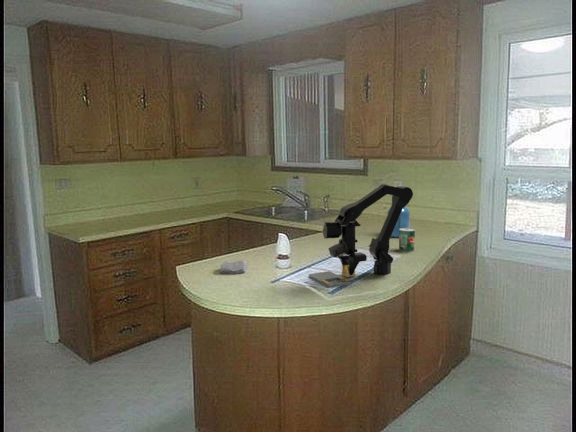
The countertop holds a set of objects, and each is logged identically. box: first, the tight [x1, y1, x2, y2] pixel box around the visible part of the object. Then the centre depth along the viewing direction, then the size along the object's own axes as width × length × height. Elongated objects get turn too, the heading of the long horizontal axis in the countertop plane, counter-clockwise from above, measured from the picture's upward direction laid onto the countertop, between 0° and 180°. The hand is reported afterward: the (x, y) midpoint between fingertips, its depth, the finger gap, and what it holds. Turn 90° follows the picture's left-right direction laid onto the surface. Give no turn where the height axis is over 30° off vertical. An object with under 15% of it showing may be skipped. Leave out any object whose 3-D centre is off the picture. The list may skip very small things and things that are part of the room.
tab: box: [338, 273, 359, 280], centre depth 196 cm, size 6×7×1 cm
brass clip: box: [341, 264, 356, 277], centre depth 196 cm, size 4×4×4 cm
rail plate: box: [308, 270, 352, 289], centre depth 191 cm, size 10×17×2 cm, turn 24°
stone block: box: [219, 260, 248, 275], centre depth 211 cm, size 12×5×10 cm
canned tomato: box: [398, 227, 416, 253], centre depth 243 cm, size 8×8×11 cm
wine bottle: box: [386, 185, 411, 239], centre depth 278 cm, size 14×13×30 cm
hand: (348, 273), depth 196 cm, fingers closed on brass clip, 4 cm apart
